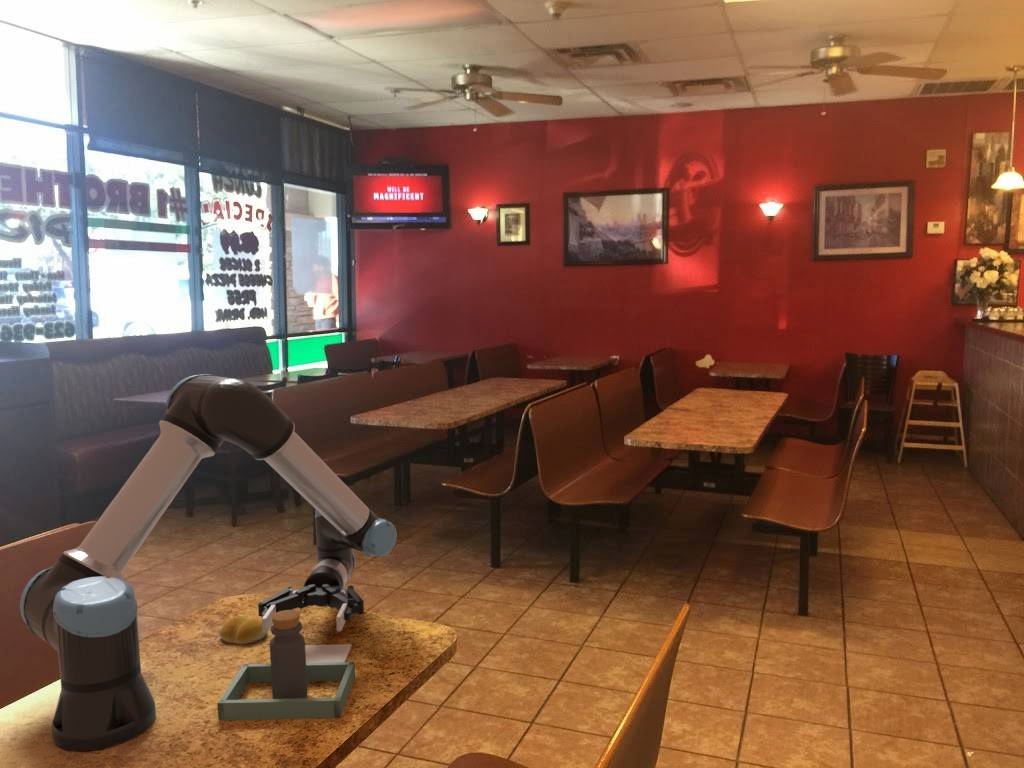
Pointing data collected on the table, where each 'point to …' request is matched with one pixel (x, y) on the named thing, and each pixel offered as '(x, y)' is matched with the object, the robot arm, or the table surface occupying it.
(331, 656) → the tile
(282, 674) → the bottle
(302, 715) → the green rectangular frame
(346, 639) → the table surface
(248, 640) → the bread roll
